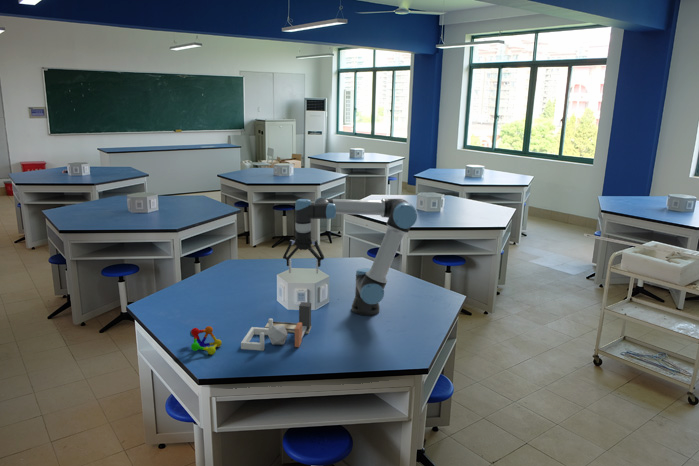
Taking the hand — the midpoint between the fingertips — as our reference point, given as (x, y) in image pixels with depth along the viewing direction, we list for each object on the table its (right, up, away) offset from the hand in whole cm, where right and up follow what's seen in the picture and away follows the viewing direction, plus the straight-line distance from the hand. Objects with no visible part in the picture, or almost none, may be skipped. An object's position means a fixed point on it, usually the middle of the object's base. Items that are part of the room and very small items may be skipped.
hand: (303, 272), depth 256 cm
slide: (-8, -28, -2) cm, 29 cm away
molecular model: (-42, -33, -26) cm, 59 cm away
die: (-10, -32, -17) cm, 37 cm away
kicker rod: (0, -30, -11) cm, 32 cm away
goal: (-20, -31, -16) cm, 40 cm away
